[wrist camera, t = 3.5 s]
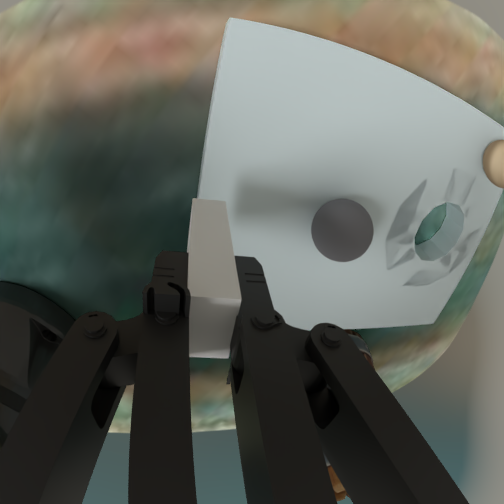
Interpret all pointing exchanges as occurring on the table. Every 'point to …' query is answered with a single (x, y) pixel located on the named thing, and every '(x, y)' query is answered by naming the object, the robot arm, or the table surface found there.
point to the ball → (342, 230)
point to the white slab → (344, 175)
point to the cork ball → (494, 163)
